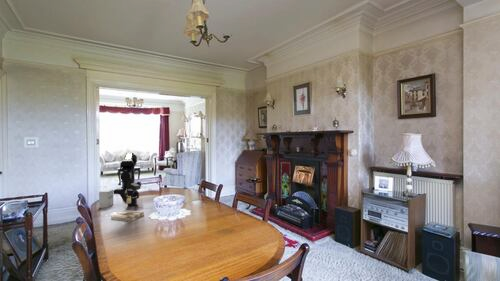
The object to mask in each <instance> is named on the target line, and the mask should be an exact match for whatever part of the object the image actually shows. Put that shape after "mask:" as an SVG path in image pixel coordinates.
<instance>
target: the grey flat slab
mask: <svg viewBox="0 0 500 281" xmlns="http://www.w3.org/2000/svg"><path fill="white" fill-rule="evenodd" d="M119 213H122V212H120V211H119V212H117V211H114V212H111V213H108V214H106V215H104V217H112V216H114V215H117V214H119Z"/></svg>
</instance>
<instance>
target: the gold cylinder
mask: <svg viewBox="0 0 500 281" xmlns="http://www.w3.org/2000/svg"><path fill="white" fill-rule="evenodd" d="M130 203H131V195H127V201H126V203H125V202H124V205H128V204H130Z"/></svg>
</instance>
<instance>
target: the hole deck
mask: <svg viewBox="0 0 500 281" xmlns="http://www.w3.org/2000/svg"><path fill="white" fill-rule="evenodd" d="M144 216H145V211H140V210H139V211H138V210H124V211H122V212H121V213H119V214H117V215H114V216H112V217H111V218H110V219H111V220H114V221H115V220H116V221H125V222H126V223H130V222H133V221H134V220H137V219H139V218H141V217H144Z"/></svg>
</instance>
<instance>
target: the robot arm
mask: <svg viewBox="0 0 500 281" xmlns="http://www.w3.org/2000/svg"><path fill="white" fill-rule="evenodd" d="M137 163H138V156H137V155H136V154H134V152H125V155H124V158H123V159H121V161H120V163H119V164H120V166H119V172H121V174H120V177H119V178H120V179H121V183H122V186H121V187H120V188H116V189H113V195H119V196H120V197H121V200H122V201H123V202H124V204H125V203H126V201H127V195H131V203H130V204H127V207H129V208H132V207H138V206H139V204H138V199H140V192H139V191H138V190H140V189H141V187H142V182H141V181H137V182H136V181H135V180H136V179H135V167H136V165H137Z"/></svg>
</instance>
